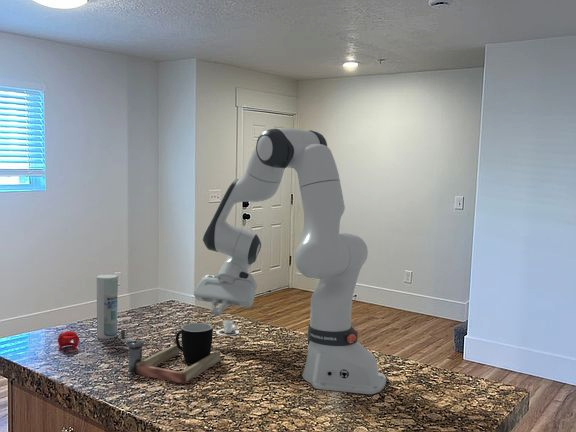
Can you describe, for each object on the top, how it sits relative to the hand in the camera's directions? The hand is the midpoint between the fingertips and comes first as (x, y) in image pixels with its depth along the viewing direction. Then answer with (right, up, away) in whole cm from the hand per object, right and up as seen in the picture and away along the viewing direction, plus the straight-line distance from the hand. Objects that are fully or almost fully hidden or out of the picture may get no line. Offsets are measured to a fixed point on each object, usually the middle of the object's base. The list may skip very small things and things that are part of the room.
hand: (215, 314), depth 170 cm
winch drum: (-20, -12, -20) cm, 31 cm away
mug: (-5, -12, -12) cm, 17 cm away
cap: (-44, -10, -5) cm, 46 cm away
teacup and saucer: (+5, -10, +18) cm, 21 cm away
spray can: (-37, -9, +9) cm, 39 cm away
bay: (-8, -12, -18) cm, 23 cm away
